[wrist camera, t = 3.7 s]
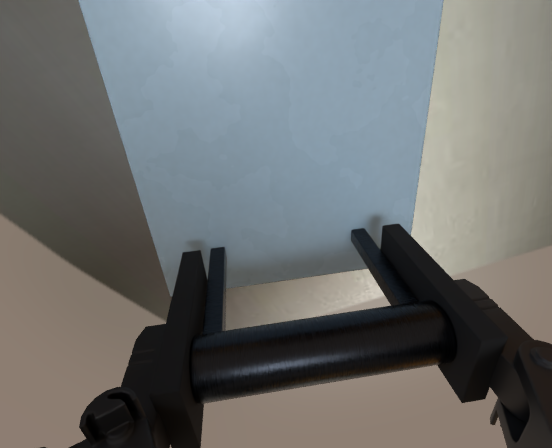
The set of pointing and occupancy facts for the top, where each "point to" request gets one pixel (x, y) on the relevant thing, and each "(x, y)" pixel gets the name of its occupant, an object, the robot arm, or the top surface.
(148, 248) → the top surface
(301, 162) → the freezer lid
